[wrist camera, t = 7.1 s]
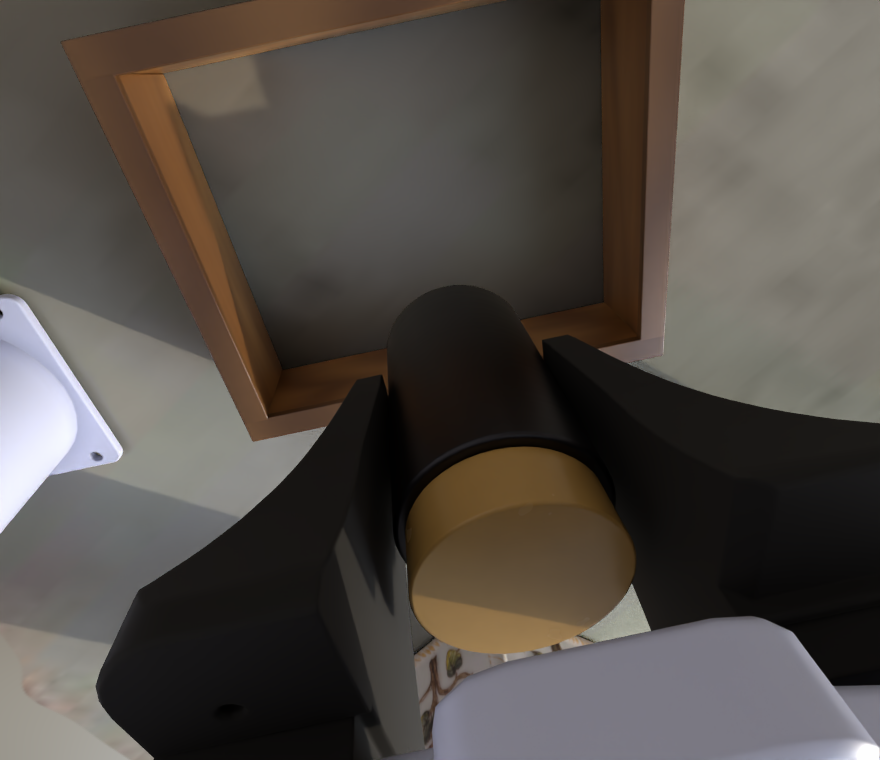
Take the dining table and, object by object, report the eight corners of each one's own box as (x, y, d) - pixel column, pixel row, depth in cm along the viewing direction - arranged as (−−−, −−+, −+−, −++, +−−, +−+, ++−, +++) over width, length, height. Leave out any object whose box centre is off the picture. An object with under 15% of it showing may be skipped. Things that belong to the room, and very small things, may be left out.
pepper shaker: (404, 418, 15) (423, 681, 8) (371, 301, 13) (363, 526, 6) (529, 391, 15) (647, 634, 8) (516, 269, 13) (656, 464, 6)
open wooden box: (271, 388, 22) (252, 442, 19) (126, 48, 15) (59, 41, 12) (621, 314, 22) (663, 355, 19) (625, -58, 15) (691, -95, 12)
